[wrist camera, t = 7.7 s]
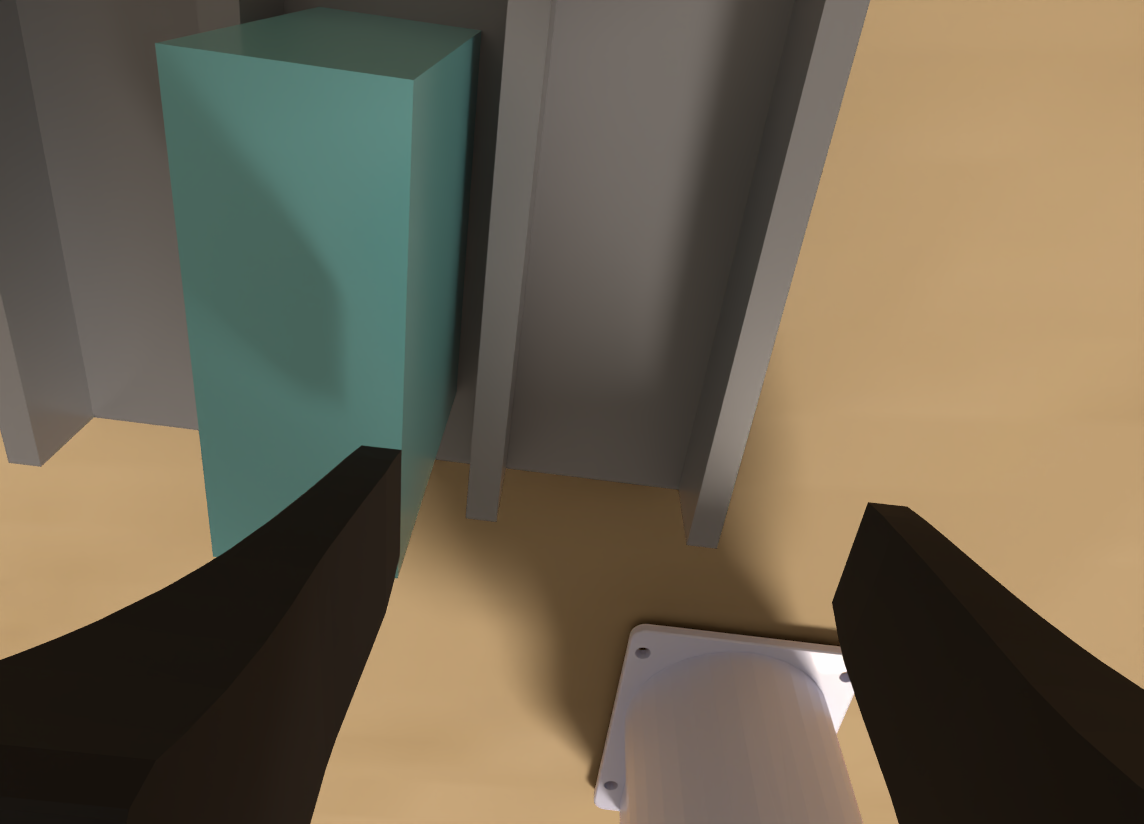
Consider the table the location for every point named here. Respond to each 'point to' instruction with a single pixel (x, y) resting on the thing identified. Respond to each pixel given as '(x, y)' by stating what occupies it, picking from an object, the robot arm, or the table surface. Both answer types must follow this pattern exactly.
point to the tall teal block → (319, 246)
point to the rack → (495, 226)
